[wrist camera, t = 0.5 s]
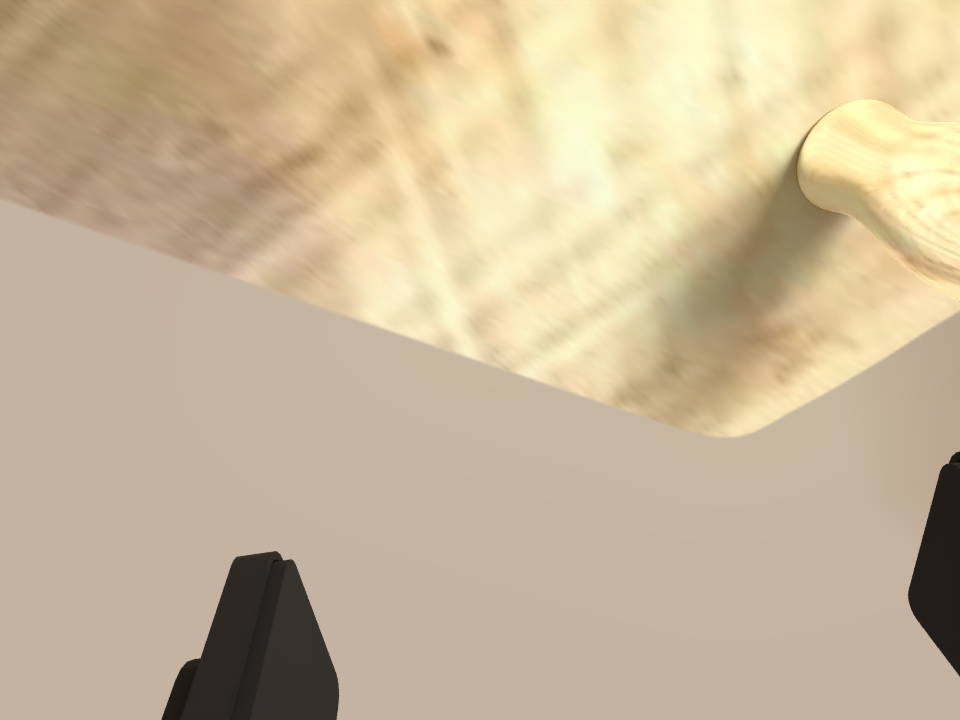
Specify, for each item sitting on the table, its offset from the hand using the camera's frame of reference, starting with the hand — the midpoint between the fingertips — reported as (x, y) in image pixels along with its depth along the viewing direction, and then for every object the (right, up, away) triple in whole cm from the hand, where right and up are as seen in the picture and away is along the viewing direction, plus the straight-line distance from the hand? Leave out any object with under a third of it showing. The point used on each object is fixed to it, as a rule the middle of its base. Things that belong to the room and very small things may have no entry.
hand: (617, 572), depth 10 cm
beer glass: (+19, +15, +28) cm, 37 cm away
